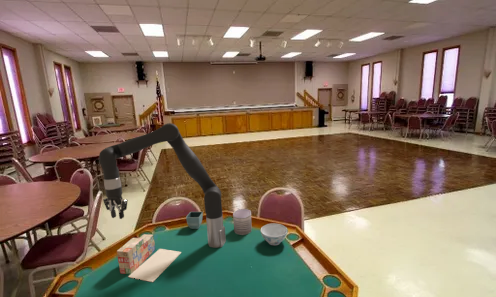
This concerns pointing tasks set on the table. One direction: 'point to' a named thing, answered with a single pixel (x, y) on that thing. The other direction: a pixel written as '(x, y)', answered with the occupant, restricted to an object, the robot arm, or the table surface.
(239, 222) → the can
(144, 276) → the mat
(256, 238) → the table surface
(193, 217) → the flower pot
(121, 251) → the stack of blocks
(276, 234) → the chinaware
